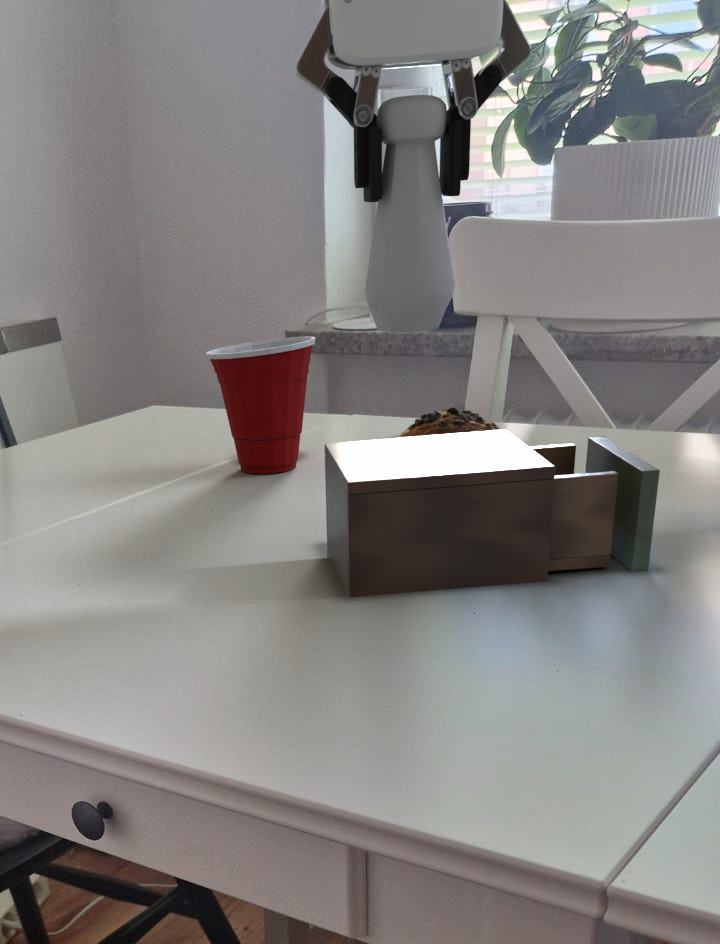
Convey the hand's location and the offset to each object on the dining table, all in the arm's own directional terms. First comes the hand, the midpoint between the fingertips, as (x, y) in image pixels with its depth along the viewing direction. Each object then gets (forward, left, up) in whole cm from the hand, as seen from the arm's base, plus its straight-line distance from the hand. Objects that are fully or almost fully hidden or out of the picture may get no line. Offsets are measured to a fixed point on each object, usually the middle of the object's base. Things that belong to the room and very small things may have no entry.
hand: (411, 195), depth 73 cm
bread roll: (-12, -39, -25) cm, 48 cm away
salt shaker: (0, 0, -8) cm, 8 cm away
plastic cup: (+7, -38, -25) cm, 46 cm away
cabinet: (-2, +1, -24) cm, 24 cm away
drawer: (-10, +1, -24) cm, 26 cm away
